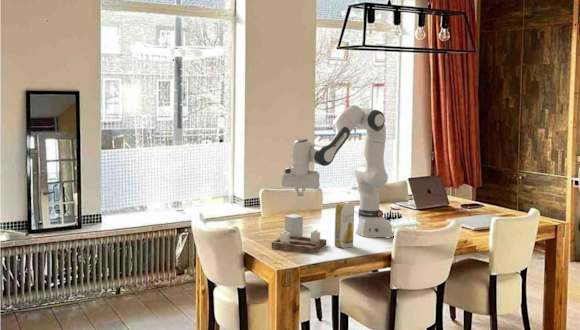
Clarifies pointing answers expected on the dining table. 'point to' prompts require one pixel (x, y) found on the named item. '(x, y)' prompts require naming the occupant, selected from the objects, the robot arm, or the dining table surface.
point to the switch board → (300, 244)
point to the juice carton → (344, 225)
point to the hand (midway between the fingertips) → (300, 196)
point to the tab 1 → (285, 237)
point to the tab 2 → (315, 236)
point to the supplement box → (294, 225)
